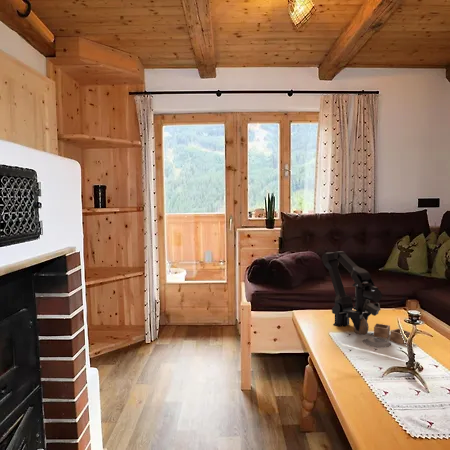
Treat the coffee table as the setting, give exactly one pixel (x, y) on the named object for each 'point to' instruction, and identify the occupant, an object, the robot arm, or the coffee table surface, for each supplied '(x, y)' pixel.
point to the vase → (362, 327)
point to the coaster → (377, 342)
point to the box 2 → (398, 336)
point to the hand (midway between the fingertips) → (360, 328)
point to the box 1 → (382, 330)
